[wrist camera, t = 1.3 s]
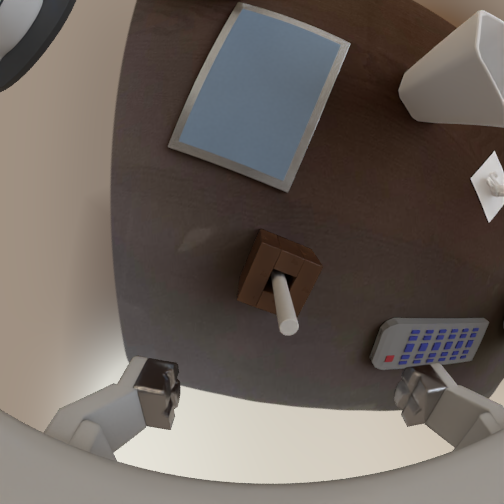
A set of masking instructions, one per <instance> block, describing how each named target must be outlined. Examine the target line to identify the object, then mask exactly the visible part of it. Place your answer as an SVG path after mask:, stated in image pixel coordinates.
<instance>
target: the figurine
mask: <svg viewBox="0 0 504 504" xmlns="http://www.w3.org/2000/svg"><path fill="white" fill-rule="evenodd" d="M471 181H472V183H473V185H474V188H475V190H476V192H477V195H478V197H479V200H480V202H481V204H482V207H483V209H484V212H485V214H486V217H487V220H488V222H490V221H491V220H492V218H493V217H494V216H495V215H496V214H497V212H498V211H499V210H500V209H501V207H502V206H503V205H504V172H503V169H502V167H501V164H500V162H499V160H498V157H497V155H496V153H495V151H494V152H493V153H492V154H491V155H490V157H489V158H488V159H487V160H486V161H485V163H484V164H483V165H482V166H481V167H480V168H479V169H478V170H477V172H476V173H475V174H474V175H473V176H472V177H471Z"/></svg>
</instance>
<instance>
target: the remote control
mask: <svg viewBox="0 0 504 504" xmlns="http://www.w3.org/2000/svg"><path fill="white" fill-rule="evenodd" d="M488 324H489V322H488V321H487V320H486V319H485V318H392V319H390V320H387V321H386V322H385V323H384V324H383V325H382V326H381V327H380V329H379V332H378V335H377V338H376V341H375V343H374V346H373V349H372V351H371V354H370V357H369V358H370V359H371V361H372V363H373V365H374V367H376V368H378V369H380V370H386V369H401V368H406V367H410V366H418V365H425V364H430V363H436V362H438V363H440V364H441V365H444V364H452V363H460V362H466V361H472V359H473V357H474V355H475V353H476V351H477V349H478V347H479V345H480V343H481V340H482V338H483V336H484V334H485V331H486V329H487V327H488Z"/></svg>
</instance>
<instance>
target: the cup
mask: <svg viewBox="0 0 504 504" xmlns="http://www.w3.org/2000/svg"><path fill="white" fill-rule="evenodd" d="M398 92H399V97H400V99H401V101H402V102H403V104H404V105H405V107H406V108H407V110H408V112H409V113H410V115H411V117H412V118H414V119H415V120H416V121H420V122H430V123H452V124H471V125H484V126H494V127H504V21H502V20H500V19H499V18H497V17H495V16H493V15H491V14H489V13H488V12H486V11H484V10H480V11H478V12H476V13H475V14H474V15H473V16H472V17H470V18H469V19H468V20H467V21H465V22H464V23H463V24H462V25H460V26H459V27H458V28H457V29H456V30H454V31H453V32H452V33H451V34H450V35H448V36H447V37H446V38H445V39H444V40H442V41H441V42H440V43H439V44H438V45H437V46H435V47H434V48H433V49H432V50H431V51H430V52H428V53H427V54H426V55H425V56H424V57H423V58H421V59H420V60H419V61H418V62H417V63H416V64H415V65H413V66H412V67H411V68H410V69H409V70H408V71H407V72H405V73H404V76H403V78H402V81H401V84H400V87H399V90H398Z"/></svg>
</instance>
